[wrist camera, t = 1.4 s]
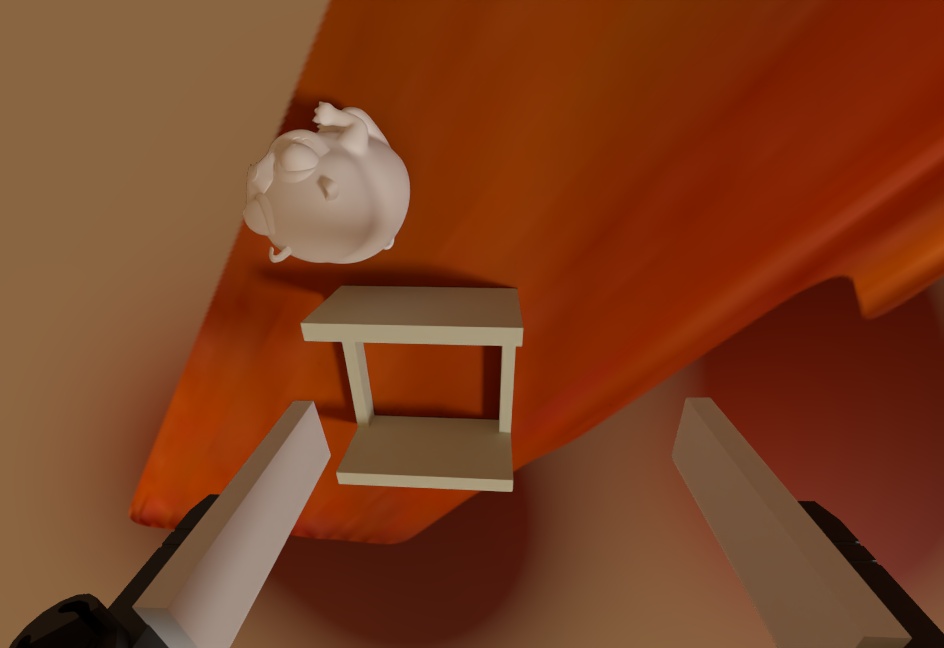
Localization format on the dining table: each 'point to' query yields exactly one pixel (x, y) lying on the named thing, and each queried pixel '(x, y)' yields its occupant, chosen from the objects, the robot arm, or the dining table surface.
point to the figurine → (329, 190)
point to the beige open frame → (423, 438)
